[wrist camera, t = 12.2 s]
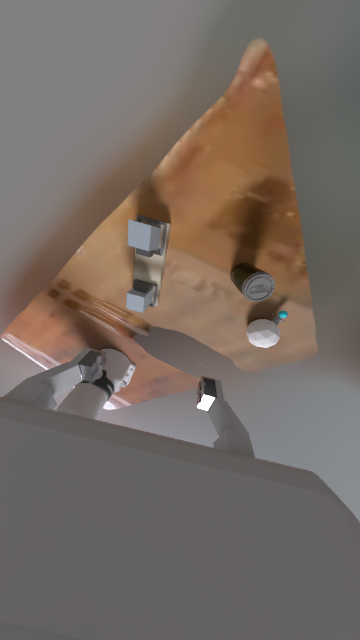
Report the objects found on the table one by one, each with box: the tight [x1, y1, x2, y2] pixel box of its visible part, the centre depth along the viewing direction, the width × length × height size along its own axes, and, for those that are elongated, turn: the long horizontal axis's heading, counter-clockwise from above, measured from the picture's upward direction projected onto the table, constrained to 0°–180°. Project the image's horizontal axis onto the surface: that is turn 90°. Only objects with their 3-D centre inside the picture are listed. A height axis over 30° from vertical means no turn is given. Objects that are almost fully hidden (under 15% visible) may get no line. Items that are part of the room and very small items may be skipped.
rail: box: [133, 215, 171, 307], centre depth 34 cm, size 20×7×3 cm, turn 167°
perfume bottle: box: [246, 311, 288, 348], centre depth 37 cm, size 8×8×12 cm
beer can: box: [231, 263, 275, 302], centre depth 29 cm, size 5×5×12 cm
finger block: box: [128, 220, 161, 257], centre depth 27 cm, size 6×4×7 cm
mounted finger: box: [127, 281, 153, 313], centre depth 34 cm, size 6×4×7 cm
